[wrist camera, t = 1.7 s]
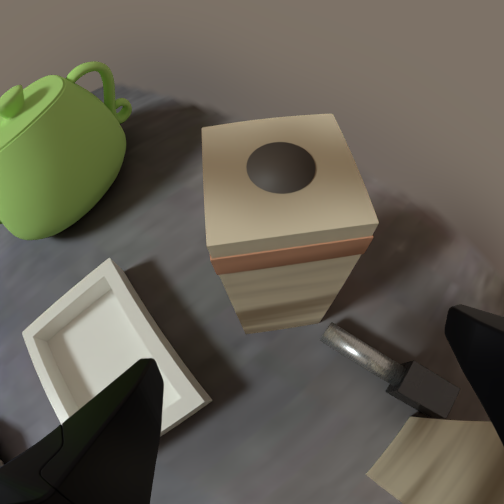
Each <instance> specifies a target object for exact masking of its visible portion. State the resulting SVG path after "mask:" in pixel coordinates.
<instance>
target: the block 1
mask: <svg viewBox="0 0 504 504" xmlns="http://www.w3.org/2000/svg"><path fill="white" fill-rule="evenodd" d="M202 157H203V184H204V206H205V225H206V242H207V248H208V250H209V253H210V260H211V263H212V265H213V267H214V269H215V272H216V274H217V275H219V276H220V278H221V280H222V283H223V285H224V287H225V289H226V292H227V294H228V296H229V298H230V301H231V303H232V305H233V307H234V309H235V312H236V314H237V316H238V318H239V320H240V323H241V325H242V327H243V329H244V331H245V334H251V333H259V332H266V331H273V330H279V329H286V328H292V327H299V326H305V325H311V324H316V323H319V322H320V321H321V319H322V318H323V316H324V315H325V313H326V312H327V310H328V309H329V307H330V305H331V304H332V302H333V301H334V299H335V298H336V296H337V294H338V293H339V291H340V289H341V288H342V286H343V285H344V283H345V281H346V280H347V278H348V276H349V275H350V273H351V271H352V270H353V268H354V266H355V265H356V263H357V261H358V259H359V258H360V256H361V254H364V253H365V251H366V250H367V248H368V246H369V244H370V243H371V241H372V239H373V233H374V231H375V229H376V227H377V226H378V224H379V222H378V219H377V216H376V213H375V211H374V208H373V205H372V203H371V200H370V198H369V195H368V192H367V190H366V187H365V185H364V182H363V180H362V177H361V175H360V173H359V170H358V168H357V166H356V163H355V161H354V159H353V156H352V154H351V152H350V150H349V147H348V145H347V143H346V141H345V139H344V136H343V134H342V132H341V130H340V128H339V126H338V124H337V122H336V119H335V118H334V115H333V114H316V115H301V116H289V117H278V118H269V119H259V120H251V121H243V122H235V123H228V124H222V125H215V126H209V127H204V128H202Z"/></svg>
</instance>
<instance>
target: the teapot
mask: <svg viewBox="0 0 504 504" xmlns="http://www.w3.org/2000/svg"><path fill="white" fill-rule="evenodd" d="M91 71H98V72H99V73H100V75H101V77H102V81H103V88H104V103H103V102H102V101H101V100H99V99H98V98H97V97H96V96H95V95H93V94H92V93H90V92H89V91H87V90H86V89H84V88H82V87H81V86H79V85H77V84H75V82H76V81H77V80H78V79H79V78H80V77H81V76H82V75H84V74H86V73H88V72H91ZM120 106H123V108H122V109H121V111H120V112H119V113H116V109H117V108H118V107H120ZM131 112H132V107H131V104H130V103H129V101H128V100H126V99H124V98H119V99H117V100H116V101H115V85H114V79H113V75H112V72H111V70H110V69H109V67H108V66H106V65H105V64H103V63H100V62H87V63H84V64H81V65H79V66H77V67H76V68H74V69H73V70H72V71H71V72H70V73H69V74H68V76H67V77H66V79H65V78H63V77H61V76H57V75H49V76H46V77H43V78H41V79H39V80H37V81H36V82H34V83H32V84H30V85H29V86H28V87H26V88H25V89H23V88H22V85H17V86H15V87H13V88H11V89H10V90H8V91H7V92H6V93H5V94H3V96H1V97H0V224H2V223H3V224H4V226H5V227H6V228H7V229H8V230H9V231H10V232H11V233H12V234H13V235H14V236H16V237H18V238H20V239H24V240H37V239H43V238H47V237H50V236H53V235H55V234H57V233H60V232H61V231H63V230H65V229H66V228H68V227H69V226H71V225H72V224H74V223H75V222H77V221H78V220H79V219H81V218H82V217H83V216H84V215H85V214H86V213H88V212H89V211H90V210H91V209H92V208H93V207H94V206H95V205H96V204H97V202H98V201H99V200H100V199H101V198H102V197H103V195H104V194H105V193H106V192H107V190H108V189H109V188H110V186H111V185H112V183H113V182H114V180H115V179H116V177H117V175H118V173H119V171H120V168H121V166H122V162H123V159H124V155H125V151H126V137H125V133H124V131H123V129H122V127H121V125H120V124H121V123H123V122H125V121H126V120H127V119H128V118H129V116H130V115H131Z"/></svg>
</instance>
